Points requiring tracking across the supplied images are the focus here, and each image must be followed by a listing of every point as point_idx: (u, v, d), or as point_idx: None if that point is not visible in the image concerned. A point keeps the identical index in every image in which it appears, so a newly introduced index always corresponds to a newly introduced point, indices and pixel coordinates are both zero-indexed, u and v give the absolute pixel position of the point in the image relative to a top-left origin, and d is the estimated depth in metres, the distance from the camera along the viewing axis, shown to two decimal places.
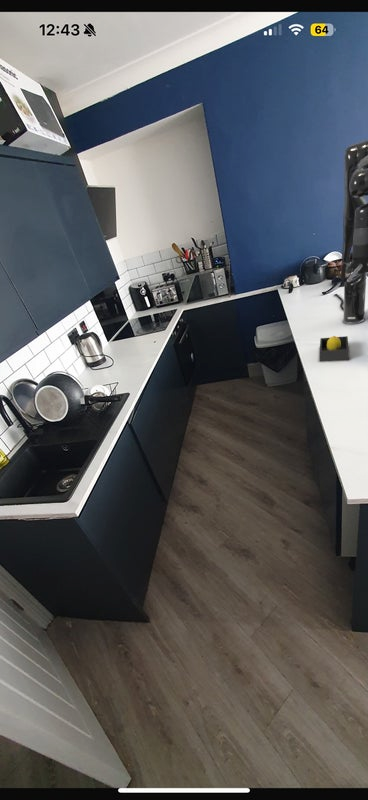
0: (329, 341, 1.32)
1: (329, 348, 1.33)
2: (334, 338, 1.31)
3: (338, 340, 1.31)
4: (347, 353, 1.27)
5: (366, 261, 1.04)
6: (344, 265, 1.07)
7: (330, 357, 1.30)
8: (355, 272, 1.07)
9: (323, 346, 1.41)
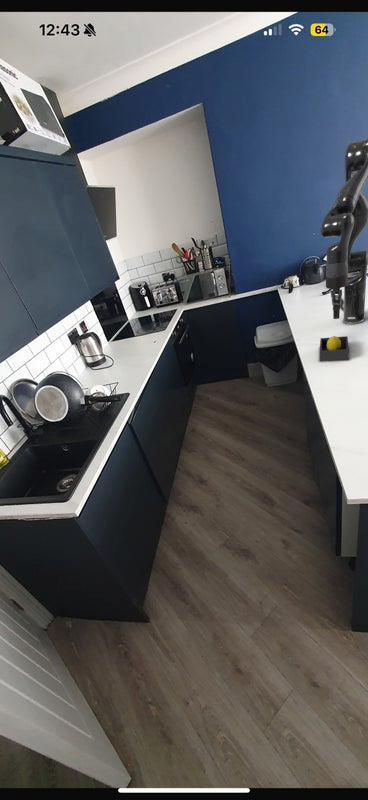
0: (329, 341, 1.32)
1: (329, 348, 1.33)
2: (334, 338, 1.31)
3: (338, 340, 1.31)
4: (347, 353, 1.27)
5: (333, 291, 1.21)
6: None
7: (330, 357, 1.30)
8: None
9: (323, 346, 1.41)
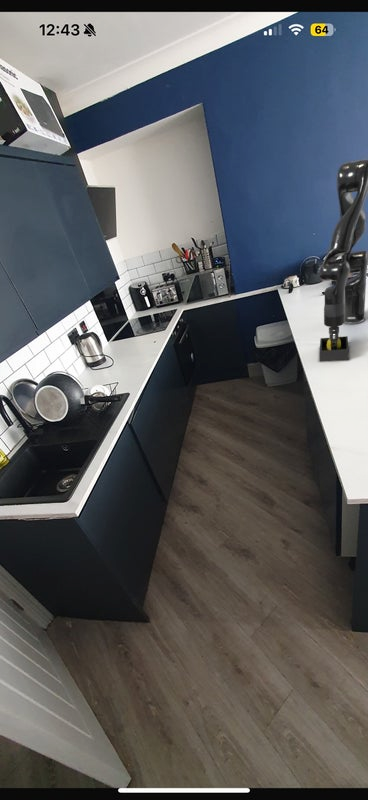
0: (329, 341, 1.32)
1: (329, 348, 1.33)
2: None
3: (338, 340, 1.31)
4: (347, 353, 1.27)
5: (331, 328, 1.30)
6: None
7: (330, 357, 1.30)
8: None
9: (323, 346, 1.41)
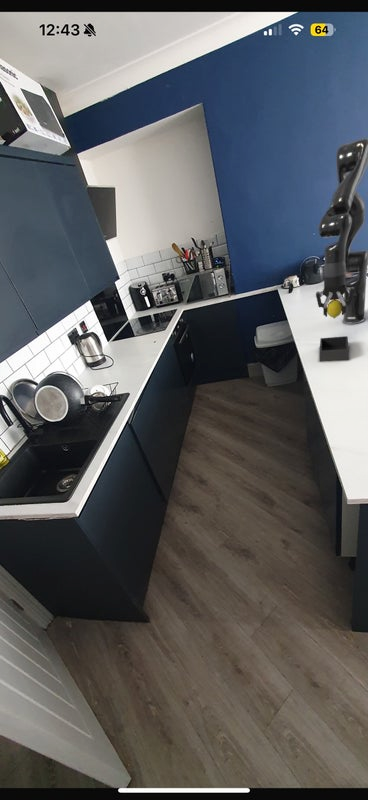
0: (338, 304, 1.24)
1: (340, 311, 1.25)
2: (337, 300, 1.25)
3: None
4: (347, 353, 1.27)
5: (335, 290, 1.22)
6: (317, 294, 1.25)
7: (330, 357, 1.30)
8: (328, 299, 1.24)
9: (323, 346, 1.41)
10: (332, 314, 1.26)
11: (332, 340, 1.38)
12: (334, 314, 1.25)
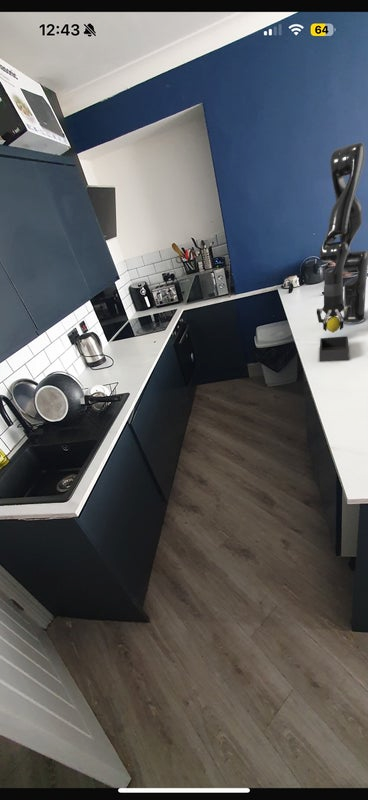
0: (336, 320, 1.37)
1: (338, 326, 1.38)
2: (335, 316, 1.38)
3: None
4: (347, 353, 1.27)
5: (334, 308, 1.35)
6: (318, 311, 1.38)
7: (330, 357, 1.30)
8: (327, 316, 1.37)
9: (323, 346, 1.41)
10: (331, 329, 1.39)
11: (332, 340, 1.38)
12: (333, 329, 1.39)
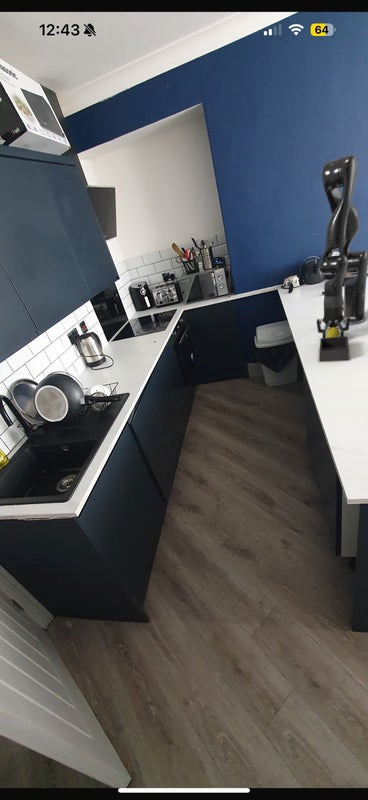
0: (336, 330, 1.40)
1: (338, 336, 1.41)
2: (335, 327, 1.41)
3: None
4: (347, 353, 1.27)
5: (334, 319, 1.38)
6: (318, 322, 1.41)
7: (330, 357, 1.30)
8: (327, 326, 1.40)
9: (323, 346, 1.41)
10: None
11: (332, 340, 1.38)
12: None
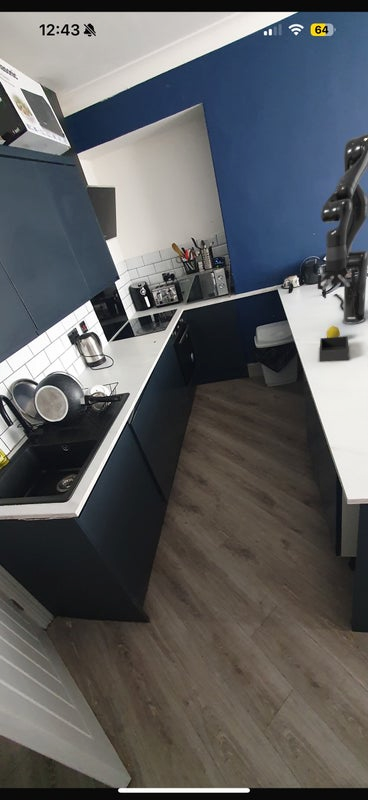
0: (336, 330, 1.40)
1: (338, 336, 1.41)
2: (335, 327, 1.41)
3: None
4: (347, 353, 1.27)
5: (337, 273, 1.28)
6: (319, 276, 1.31)
7: (330, 357, 1.30)
8: (328, 282, 1.30)
9: (323, 346, 1.41)
10: None
11: (332, 340, 1.38)
12: None
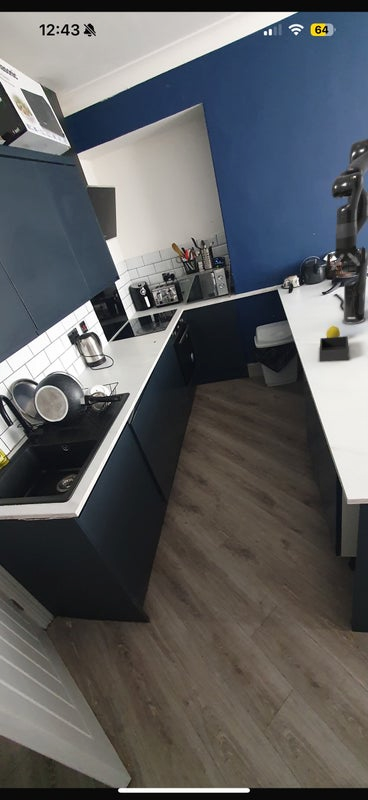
0: (336, 330, 1.40)
1: (338, 336, 1.41)
2: (335, 327, 1.41)
3: None
4: (347, 353, 1.27)
5: (347, 252, 1.25)
6: (329, 255, 1.28)
7: (330, 357, 1.30)
8: (338, 261, 1.28)
9: (323, 346, 1.41)
10: None
11: (332, 340, 1.38)
12: None
